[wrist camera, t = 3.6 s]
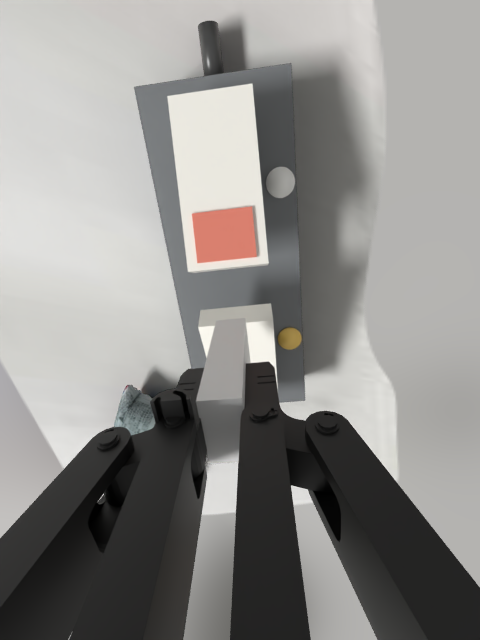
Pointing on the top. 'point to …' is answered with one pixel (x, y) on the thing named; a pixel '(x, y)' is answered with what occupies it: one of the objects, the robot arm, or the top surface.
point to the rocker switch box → (278, 200)
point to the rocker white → (219, 178)
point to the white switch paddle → (257, 329)
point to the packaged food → (135, 411)
